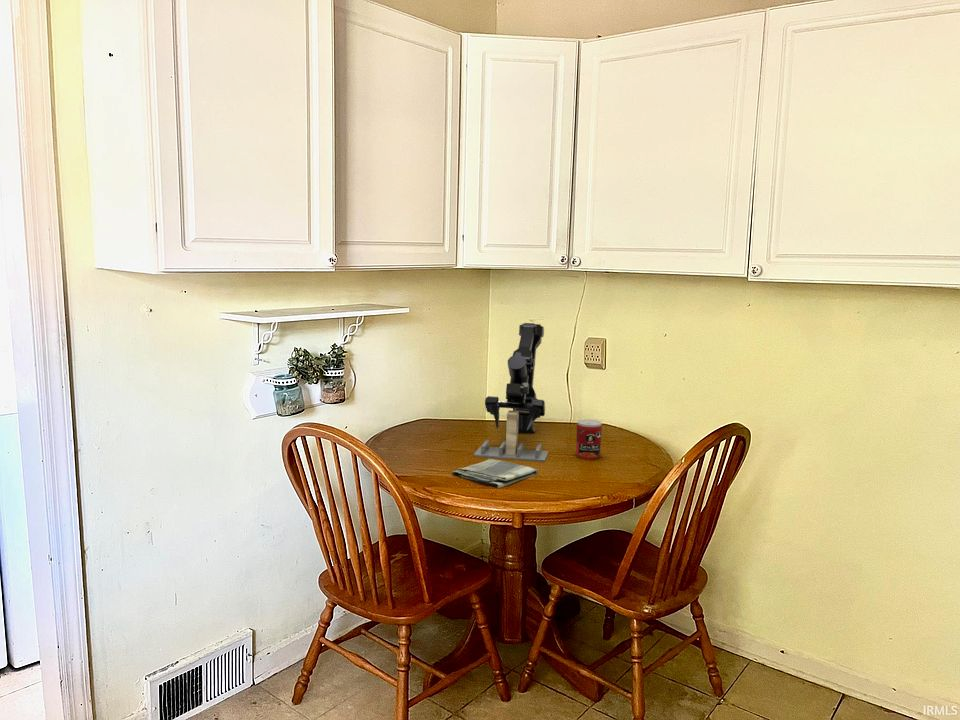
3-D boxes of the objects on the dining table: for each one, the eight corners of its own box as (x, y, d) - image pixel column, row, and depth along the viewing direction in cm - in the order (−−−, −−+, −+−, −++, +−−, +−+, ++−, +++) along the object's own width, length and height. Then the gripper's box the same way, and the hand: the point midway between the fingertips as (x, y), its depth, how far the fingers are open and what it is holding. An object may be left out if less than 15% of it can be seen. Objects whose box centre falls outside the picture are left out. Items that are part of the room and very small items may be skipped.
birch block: (507, 450, 229) (509, 410, 227) (517, 451, 229) (518, 411, 227) (505, 454, 225) (506, 413, 223) (515, 455, 225) (516, 414, 223)
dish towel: (490, 463, 220) (490, 452, 219) (538, 476, 208) (539, 465, 208) (449, 477, 206) (449, 466, 205) (498, 491, 194) (499, 480, 194)
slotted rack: (480, 447, 234) (480, 438, 234) (548, 453, 230) (548, 443, 229) (473, 456, 224) (474, 446, 224) (544, 462, 220) (545, 452, 220)
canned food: (576, 459, 224) (578, 424, 222) (574, 452, 232) (575, 418, 230) (601, 460, 224) (603, 425, 222) (598, 452, 232) (600, 419, 230)
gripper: (486, 371, 229) (478, 413, 220) (545, 374, 225) (540, 417, 216) (490, 391, 238) (483, 431, 229) (547, 394, 234) (542, 436, 225)
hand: (511, 429), depth 225 cm, fingers open, 9 cm apart
